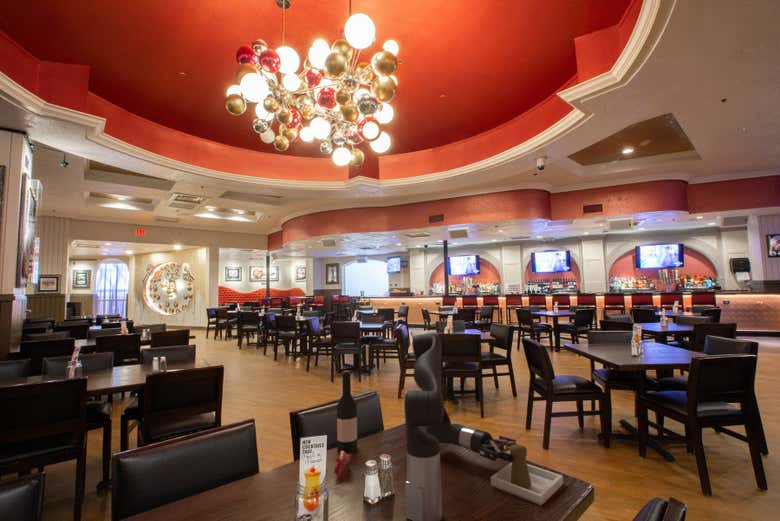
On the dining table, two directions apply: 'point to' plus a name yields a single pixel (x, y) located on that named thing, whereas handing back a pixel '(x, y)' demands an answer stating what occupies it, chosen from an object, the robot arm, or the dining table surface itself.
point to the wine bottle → (346, 418)
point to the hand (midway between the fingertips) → (518, 454)
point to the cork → (519, 466)
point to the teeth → (342, 465)
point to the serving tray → (540, 487)
